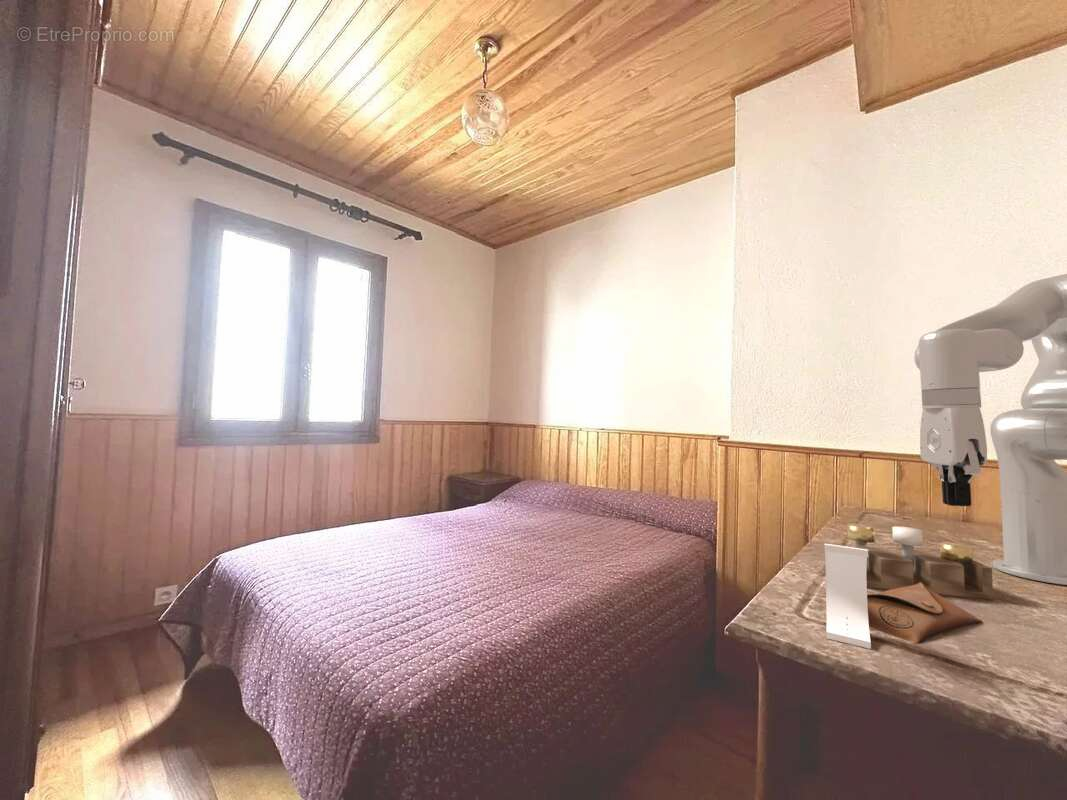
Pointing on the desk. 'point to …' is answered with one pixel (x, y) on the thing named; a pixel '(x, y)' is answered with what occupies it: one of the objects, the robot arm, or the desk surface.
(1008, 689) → the desk surface
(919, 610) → the sunglasses case
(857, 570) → the headphone stand
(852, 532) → the brass knob
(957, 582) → the tan mount
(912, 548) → the white knob
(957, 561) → the brass knob
